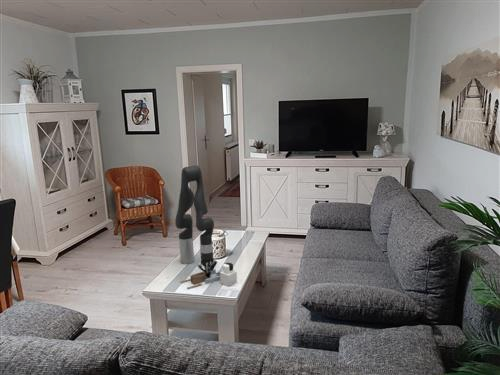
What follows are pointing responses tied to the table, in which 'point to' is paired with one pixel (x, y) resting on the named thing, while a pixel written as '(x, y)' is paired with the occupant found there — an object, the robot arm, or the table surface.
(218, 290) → the table surface
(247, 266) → the table surface
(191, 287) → the strips
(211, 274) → the channel
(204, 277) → the block
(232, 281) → the medicine bottle
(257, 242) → the table surface
